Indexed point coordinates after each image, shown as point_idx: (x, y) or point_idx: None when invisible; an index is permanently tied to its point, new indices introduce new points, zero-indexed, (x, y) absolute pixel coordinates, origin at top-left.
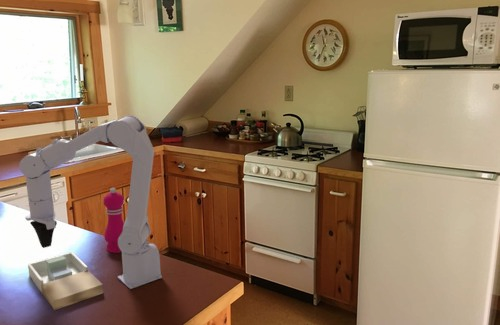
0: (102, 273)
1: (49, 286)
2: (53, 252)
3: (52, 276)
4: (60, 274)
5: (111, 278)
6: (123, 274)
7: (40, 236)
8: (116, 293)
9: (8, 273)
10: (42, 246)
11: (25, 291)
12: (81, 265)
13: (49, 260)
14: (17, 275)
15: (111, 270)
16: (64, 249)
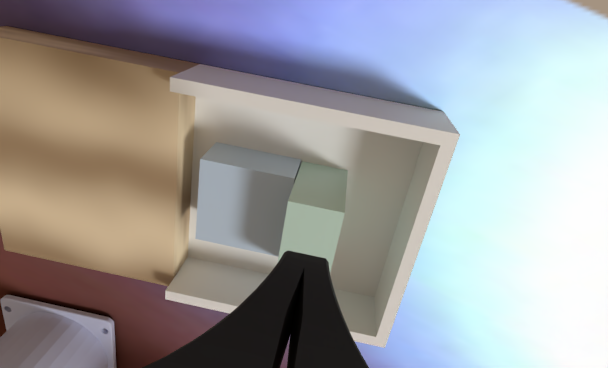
0: (192, 309)
1: (127, 92)
2: (583, 313)
3: (244, 161)
4: (206, 191)
5: (129, 304)
6: (53, 335)
7: (227, 319)
8: (8, 252)
9: (595, 43)
10: (285, 256)
11: (285, 12)
12: (225, 294)
13: (325, 223)
14: (513, 69)
15: (191, 338)
16: (558, 354)
